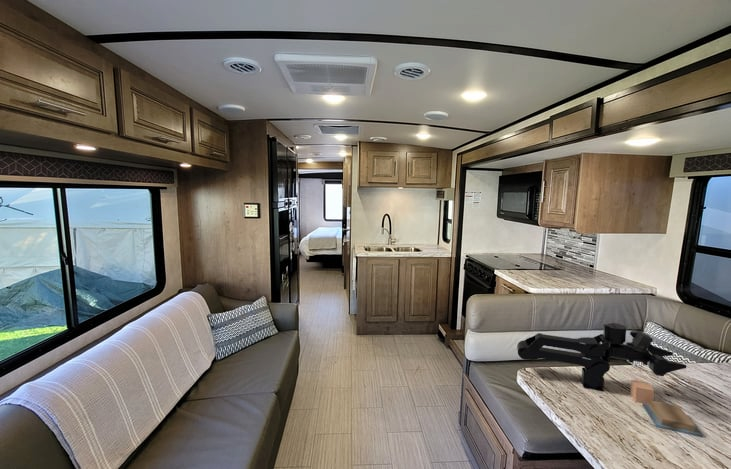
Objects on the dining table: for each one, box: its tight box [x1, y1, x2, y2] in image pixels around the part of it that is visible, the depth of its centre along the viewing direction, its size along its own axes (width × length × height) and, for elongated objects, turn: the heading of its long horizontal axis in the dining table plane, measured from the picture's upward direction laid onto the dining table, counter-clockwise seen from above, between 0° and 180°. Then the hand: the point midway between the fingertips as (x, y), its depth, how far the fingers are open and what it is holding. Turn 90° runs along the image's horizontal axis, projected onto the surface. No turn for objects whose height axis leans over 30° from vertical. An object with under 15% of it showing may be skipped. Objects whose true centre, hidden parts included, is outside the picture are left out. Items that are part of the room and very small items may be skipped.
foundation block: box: [641, 400, 703, 438], centre depth 99 cm, size 11×11×3 cm
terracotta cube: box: [629, 379, 655, 405], centre depth 110 cm, size 5×5×6 cm
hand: (679, 359), depth 106 cm, fingers open, 9 cm apart
